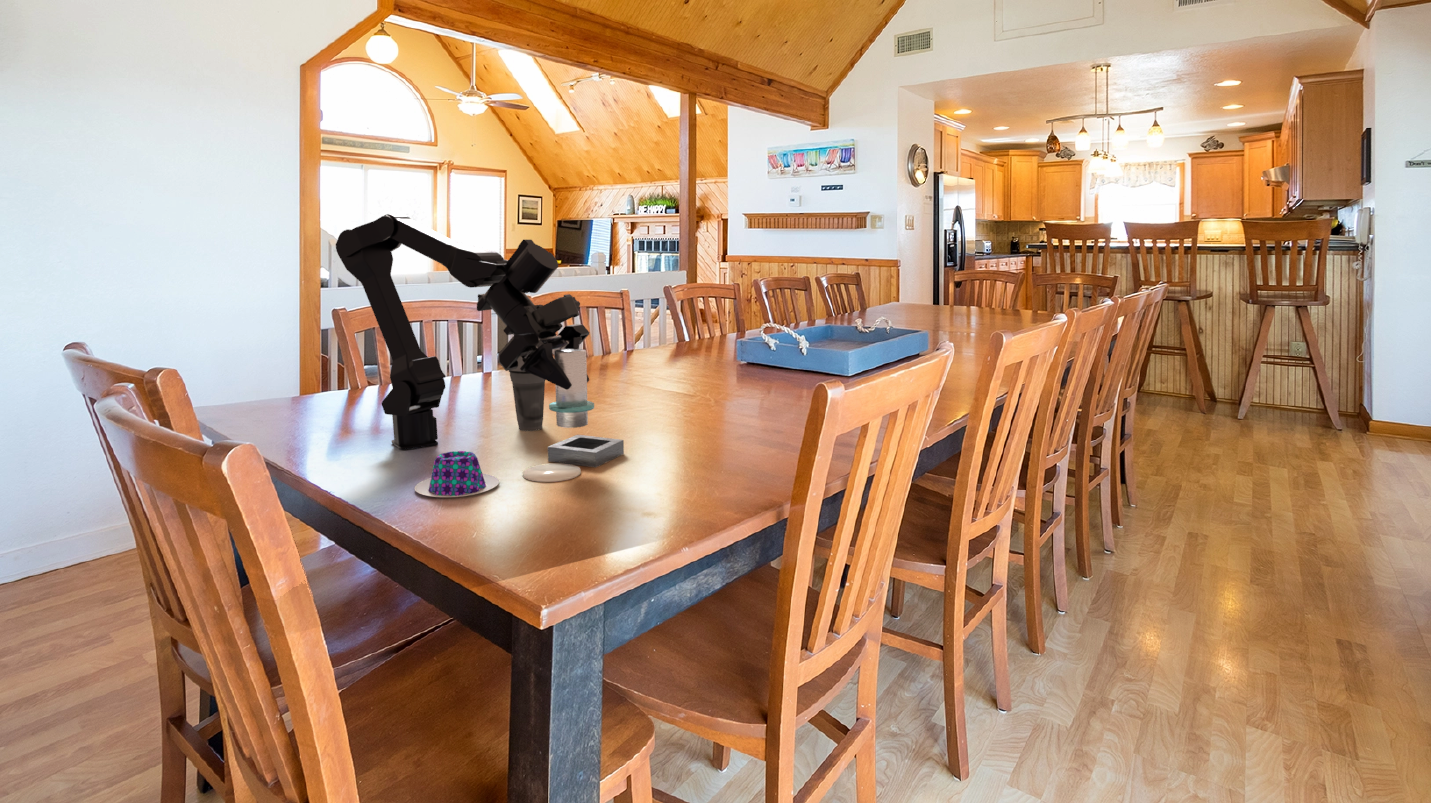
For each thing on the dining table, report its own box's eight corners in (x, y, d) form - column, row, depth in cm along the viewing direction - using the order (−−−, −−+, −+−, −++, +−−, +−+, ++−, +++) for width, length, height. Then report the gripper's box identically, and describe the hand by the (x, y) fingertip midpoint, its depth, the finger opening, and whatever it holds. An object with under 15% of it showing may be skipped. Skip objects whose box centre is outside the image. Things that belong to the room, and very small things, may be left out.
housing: (595, 467, 128) (595, 452, 127) (548, 461, 131) (547, 446, 131) (623, 453, 136) (623, 439, 135) (578, 448, 139) (577, 434, 139)
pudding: (510, 478, 122) (509, 445, 121) (482, 503, 111) (480, 467, 110) (436, 476, 123) (434, 443, 122) (399, 500, 112) (397, 465, 111)
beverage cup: (544, 433, 150) (540, 328, 146) (506, 432, 150) (501, 328, 146) (553, 424, 157) (549, 324, 153) (516, 423, 158) (512, 324, 154)
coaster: (536, 485, 118) (536, 482, 118) (513, 471, 125) (513, 469, 125) (590, 475, 123) (590, 473, 123) (565, 462, 130) (565, 460, 130)
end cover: (557, 431, 123) (555, 355, 121) (544, 421, 129) (541, 349, 127) (601, 426, 126) (599, 352, 124) (586, 417, 133) (584, 347, 130)
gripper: (511, 280, 116) (577, 360, 114) (578, 276, 133) (636, 345, 131) (470, 331, 121) (533, 408, 119) (540, 320, 138) (596, 387, 136)
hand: (578, 384), depth 126 cm, fingers closed on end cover, 5 cm apart
